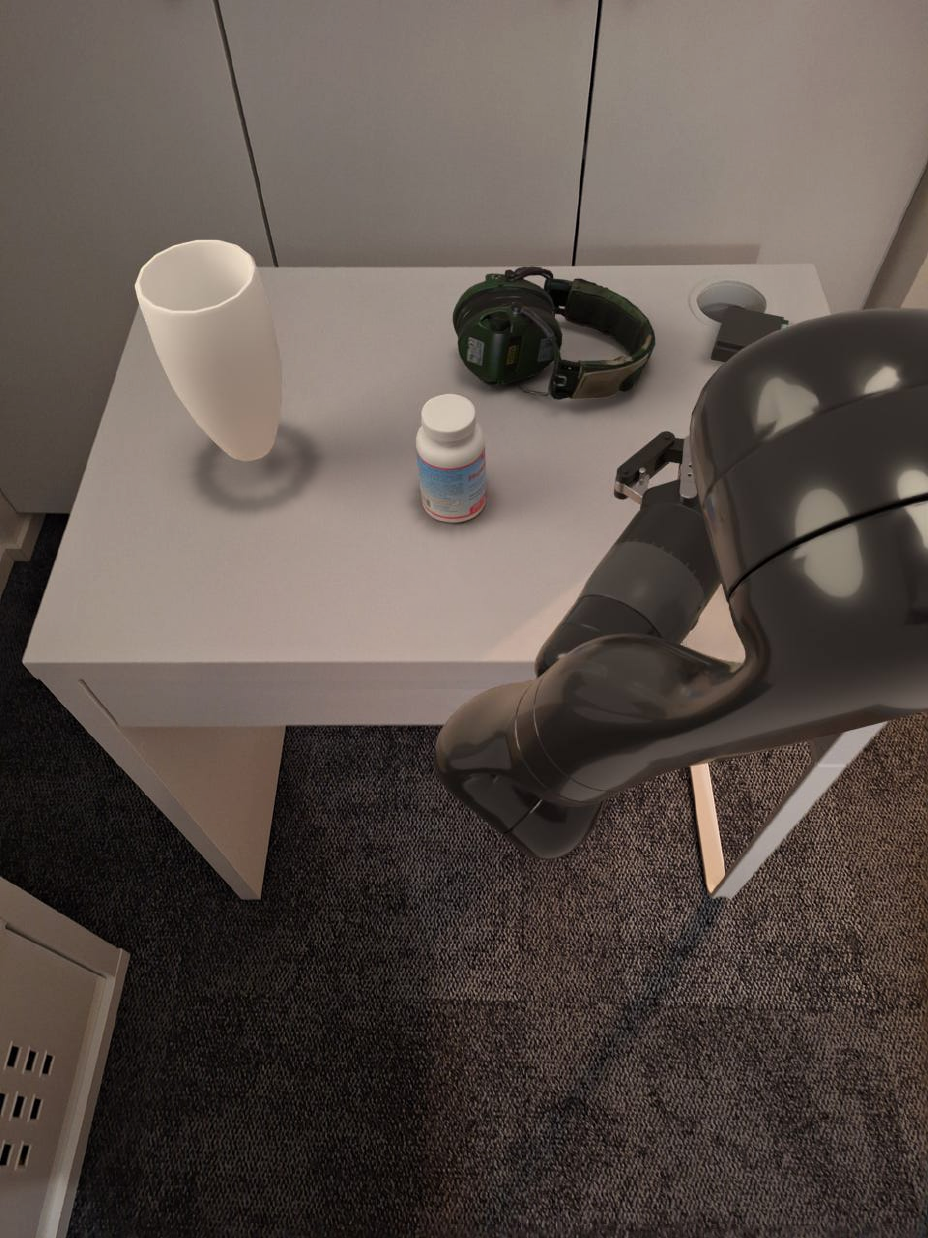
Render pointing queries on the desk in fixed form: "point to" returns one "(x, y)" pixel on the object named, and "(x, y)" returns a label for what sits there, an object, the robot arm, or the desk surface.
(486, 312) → the headphones
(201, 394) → the cup
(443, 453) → the pill bottle
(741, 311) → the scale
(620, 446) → the desk surface
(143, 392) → the desk surface
